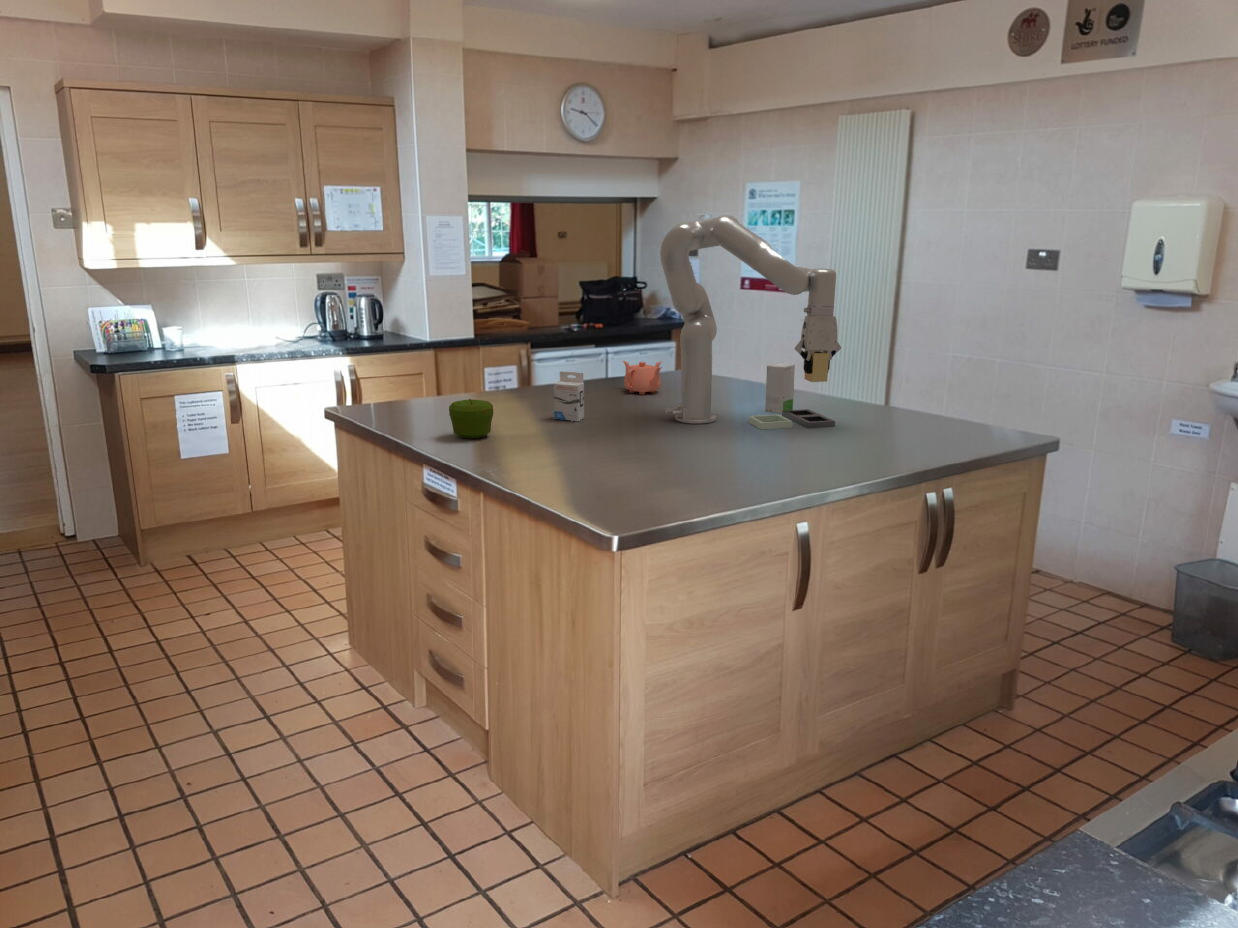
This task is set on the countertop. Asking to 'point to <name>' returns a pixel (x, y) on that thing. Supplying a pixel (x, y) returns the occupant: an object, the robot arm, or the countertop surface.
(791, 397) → the skincare box
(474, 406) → the apple
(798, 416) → the grey metal tray
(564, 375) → the ink box
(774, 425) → the tray
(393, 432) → the countertop surface
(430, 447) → the countertop surface
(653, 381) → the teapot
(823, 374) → the pale yellow tall block
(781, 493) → the countertop surface
